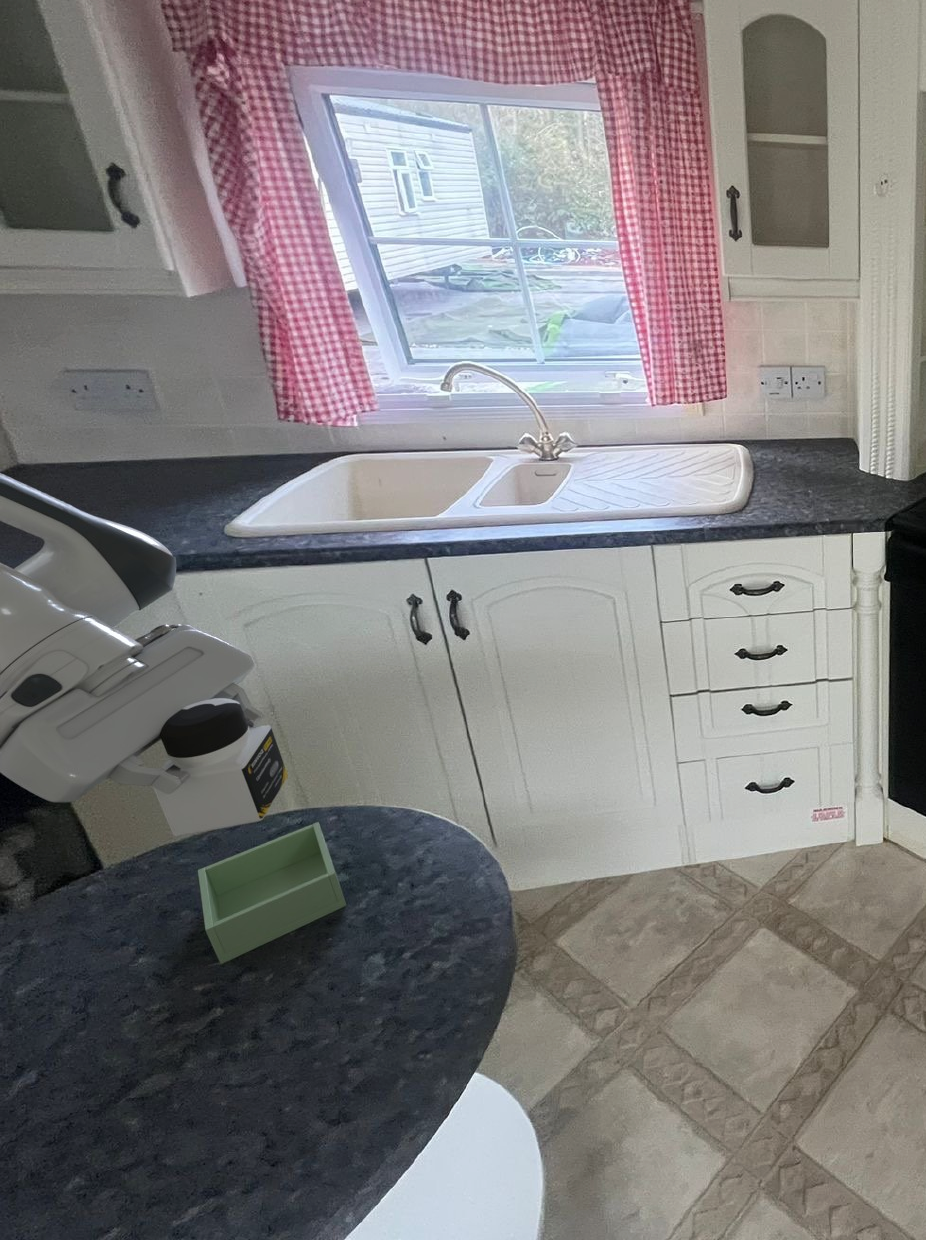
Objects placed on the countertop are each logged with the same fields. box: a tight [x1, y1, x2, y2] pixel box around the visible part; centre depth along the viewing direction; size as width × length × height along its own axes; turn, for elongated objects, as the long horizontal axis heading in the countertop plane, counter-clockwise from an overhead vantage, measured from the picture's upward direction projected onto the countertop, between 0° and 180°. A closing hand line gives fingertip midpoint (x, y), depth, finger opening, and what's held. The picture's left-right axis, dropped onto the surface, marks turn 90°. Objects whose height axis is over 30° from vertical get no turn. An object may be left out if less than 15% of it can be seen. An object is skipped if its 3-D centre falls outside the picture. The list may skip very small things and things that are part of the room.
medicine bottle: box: [151, 698, 289, 838], centre depth 79 cm, size 7×7×12 cm
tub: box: [197, 821, 347, 965], centre depth 87 cm, size 11×11×5 cm
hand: (220, 753), depth 78 cm, fingers closed on medicine bottle, 8 cm apart
